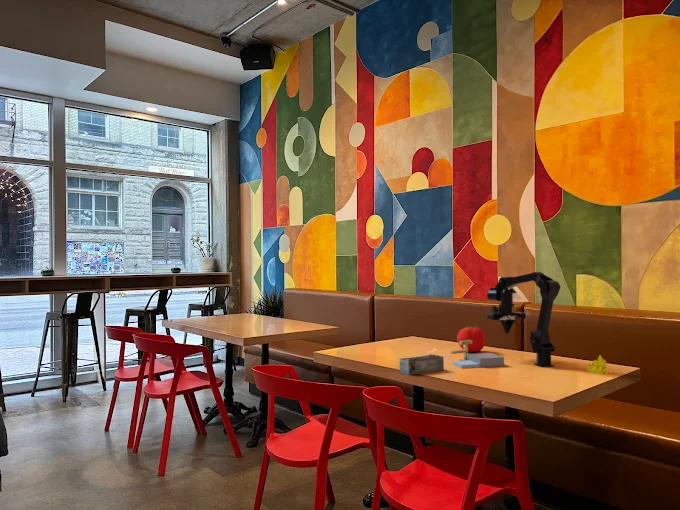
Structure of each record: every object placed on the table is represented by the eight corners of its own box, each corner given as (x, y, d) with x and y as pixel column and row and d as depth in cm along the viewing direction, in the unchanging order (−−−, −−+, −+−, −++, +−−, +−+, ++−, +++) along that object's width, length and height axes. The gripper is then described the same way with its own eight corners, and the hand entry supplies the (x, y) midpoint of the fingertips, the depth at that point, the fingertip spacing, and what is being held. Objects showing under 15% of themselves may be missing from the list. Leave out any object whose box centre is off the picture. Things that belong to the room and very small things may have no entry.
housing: (504, 365, 238) (503, 357, 238) (477, 367, 234) (477, 358, 234) (484, 358, 255) (483, 350, 255) (459, 359, 252) (459, 351, 252)
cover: (479, 368, 235) (479, 363, 235) (461, 369, 233) (461, 364, 233) (470, 364, 244) (470, 360, 244) (452, 365, 242) (452, 361, 242)
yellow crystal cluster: (589, 370, 228) (588, 352, 228) (609, 372, 223) (609, 354, 223) (586, 372, 223) (585, 354, 224) (606, 374, 219) (606, 356, 219)
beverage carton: (398, 371, 227) (398, 356, 227) (433, 367, 236) (433, 353, 236) (408, 375, 220) (408, 359, 220) (444, 370, 229) (444, 356, 229)
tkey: (452, 362, 245) (452, 342, 245) (449, 361, 246) (449, 342, 247) (472, 359, 251) (472, 340, 251) (469, 358, 253) (469, 339, 253)
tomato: (490, 352, 274) (490, 326, 274) (475, 355, 265) (474, 328, 265) (466, 348, 286) (465, 323, 286) (450, 351, 277) (450, 325, 277)
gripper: (513, 300, 267) (513, 330, 267) (481, 301, 262) (481, 332, 262) (526, 302, 256) (526, 333, 256) (493, 303, 251) (493, 335, 251)
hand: (506, 333), depth 257 cm, fingers closed
